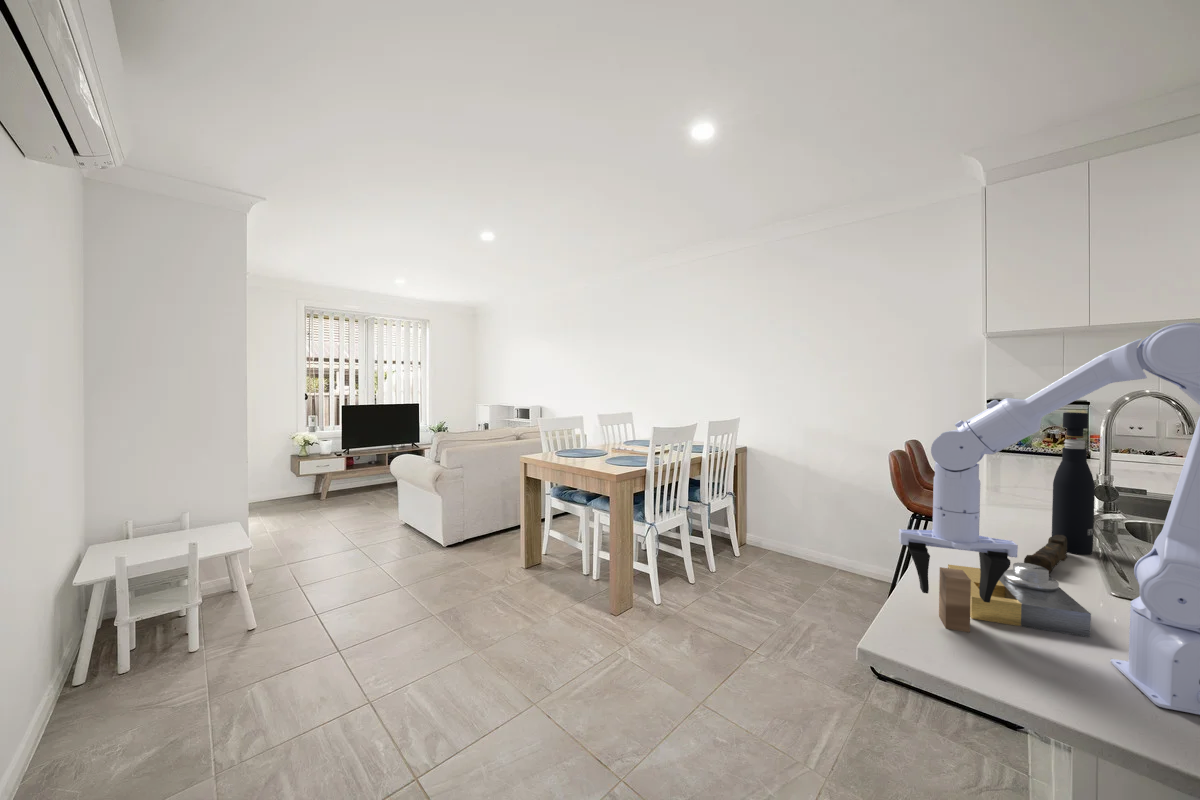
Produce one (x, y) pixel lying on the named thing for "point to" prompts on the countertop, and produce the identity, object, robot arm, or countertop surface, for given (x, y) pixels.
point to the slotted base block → (1028, 601)
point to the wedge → (954, 599)
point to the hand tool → (1049, 553)
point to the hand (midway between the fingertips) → (953, 594)
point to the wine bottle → (1074, 489)
